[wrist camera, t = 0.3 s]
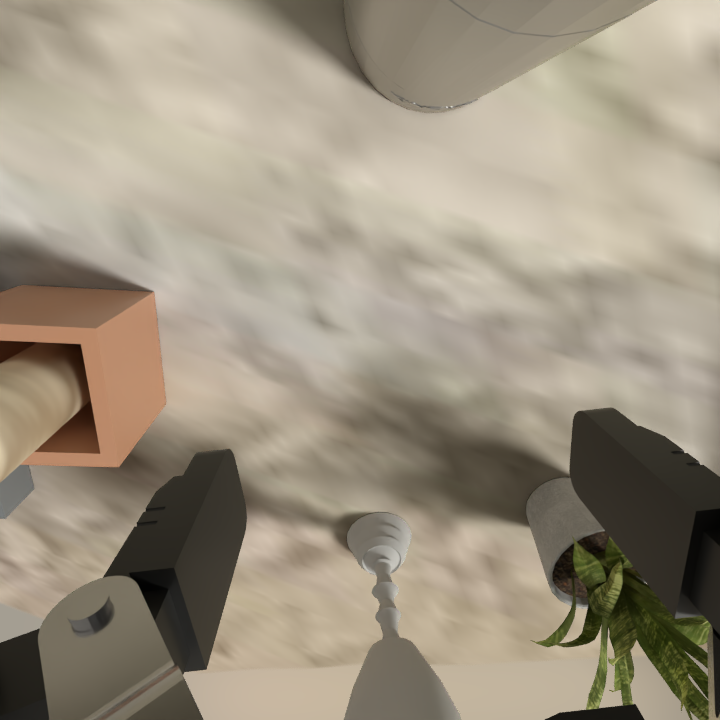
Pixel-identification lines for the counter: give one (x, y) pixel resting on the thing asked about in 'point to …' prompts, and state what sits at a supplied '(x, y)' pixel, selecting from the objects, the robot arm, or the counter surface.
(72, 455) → the terracotta open box
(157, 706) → the robot arm
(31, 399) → the peg
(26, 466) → the tray
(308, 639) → the counter surface
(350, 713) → the chalice
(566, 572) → the house plant
